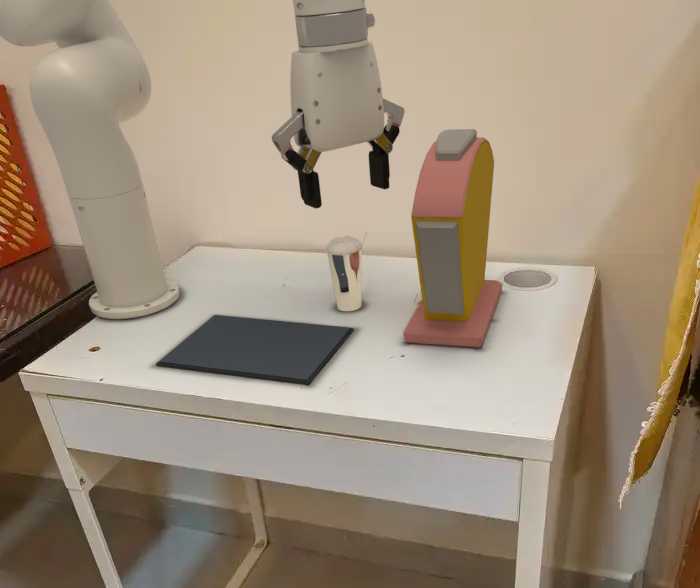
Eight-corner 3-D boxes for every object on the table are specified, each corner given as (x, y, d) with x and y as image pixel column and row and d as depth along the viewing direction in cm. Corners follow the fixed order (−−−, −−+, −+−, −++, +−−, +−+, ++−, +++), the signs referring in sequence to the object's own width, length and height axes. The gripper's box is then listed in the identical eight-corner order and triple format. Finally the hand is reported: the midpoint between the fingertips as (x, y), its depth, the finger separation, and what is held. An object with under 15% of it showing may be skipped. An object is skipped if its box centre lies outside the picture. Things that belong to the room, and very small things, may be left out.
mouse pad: (156, 365, 86) (155, 362, 86) (214, 317, 96) (213, 313, 96) (308, 385, 79) (308, 381, 79) (354, 330, 90) (353, 326, 89)
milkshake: (369, 314, 93) (363, 237, 87) (328, 313, 94) (321, 237, 88) (375, 299, 97) (370, 225, 91) (336, 299, 98) (329, 225, 92)
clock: (437, 281, 100) (436, 112, 88) (505, 284, 97) (513, 110, 85) (397, 354, 83) (388, 157, 71) (477, 360, 81) (483, 157, 68)
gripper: (378, 21, 83) (387, 175, 93) (244, 43, 76) (269, 207, 86) (417, 21, 78) (423, 185, 88) (277, 45, 71) (300, 220, 81)
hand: (347, 196), depth 87 cm, fingers open, 9 cm apart
